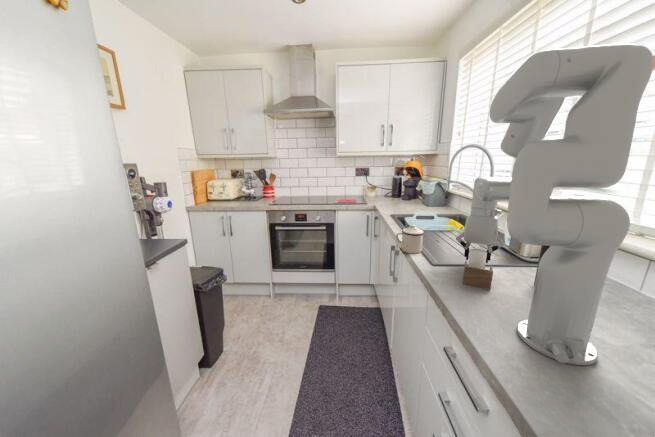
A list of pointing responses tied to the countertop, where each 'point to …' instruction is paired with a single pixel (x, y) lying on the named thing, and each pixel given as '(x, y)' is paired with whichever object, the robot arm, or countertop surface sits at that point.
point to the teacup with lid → (411, 239)
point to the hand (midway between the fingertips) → (476, 259)
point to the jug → (477, 258)
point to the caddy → (477, 277)
